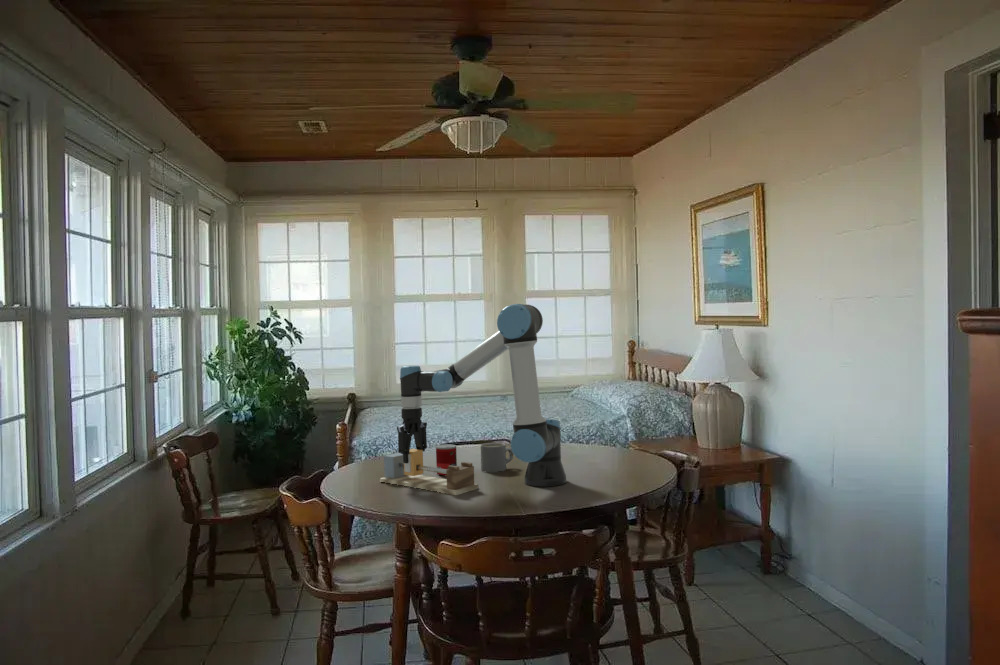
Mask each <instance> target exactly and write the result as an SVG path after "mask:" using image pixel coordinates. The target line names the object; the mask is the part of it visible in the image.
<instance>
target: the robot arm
mask: <svg viewBox="0 0 1000 665" xmlns="http://www.w3.org/2000/svg"><path fill="white" fill-rule="evenodd" d="M543 320H544V319H543V316H542V313H541V311H540V310H539V309H538V308H537V307H536V306H534V305H531V304H521V303H514V304H510V305H507V306H505V307H504V308H502V309H501V311H500V312H499V313H498V316H497V319H496V327H497V329H498V331H496V332H495V333H494V334H492V335H491V336H489V337H488V338H487V339H485V341H483V342H481V343H480V344H479V345H477V346H475V347H474V348H473V349H472V350H471V351H468V352H467V353H466V354H465V355H464V356H462V357H461V358H460V359H458V360H456V361H455V362H454V363H452V364H451V365H449V366H448V367H447V368H444V369H439V370H425V371H424V370H422V368H421V366H420V365H404V366H402V367H400V372H399V373H400V374H399V376H400V377H399V379H400V402H401V403H400V405H401V411H400V412H401V419H402V425H400V426H399V425H398V426H396V430H397V434H398V435H397V441H398V446H397V447H398V453H401V454H403V462H404V464H405V472H411V454H409V450H410V449H411V443H412V437H413V439H414V443H415V447H416V448H415V449H419V450H423V452H425V451H426V449H427V448H428V443H427V442H428V441H427V427H428V426H427V425H428V422H425V421H422V418H423V409H422V405H423V404H422V401H423V400H422V393H423V392H432V393H433V392H434V393H435V392H436V393H442V392H443V393H444V392H449V391H450V390H451V389H455V388H458V387H460V386H462V385H463V383H464V381H465V380H467V379H468V378H470V377H471V376H472V375H474V374H475V373H476V372H478V371H479V370H481V369H483V368H484V367H485V366H486V365H488V364H489V363H491V362H492V361H493V360H495V359H496V358H498V357H499V356H501V355H502V354H504V353H505V352H506V351H509V352H508V354H509V361H510V371H511V378H512V389H513V397H514V407H515V416H516V417H515V418H516V419H515V420H514V421H513V422H512V428H513V435H512V436H511V439H510V448H511V450H512V452H513V456H515V458H517V460H519V461H521V462H523V463H527V467H526V470H525V474H524V484H526V485H529V486H532V487H540V488H542V487H544V488H545V487H556V486H557V487H559V486H562V485H564V484H566V483H567V475H566V472H565V468H564V466H563V463H562V450H561V447H562V446H561V445H562V444H561V442H562V441H561V430H562V429H561V423H560V421H559V419H553V418H550V419H549V418H547V419H546V418H545V417H544V416H542V410H541V403H540V394H539V393H540V392H539V384H538V375H537V366H536V365H537V364H536V357H535V349H534V348H535V345H536V344H537V342H538V335H537V334H538V333H539V332H540V330H542V327H543Z"/></svg>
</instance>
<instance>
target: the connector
mask: <svg viewBox="0 0 1000 665" xmlns="http://www.w3.org/2000/svg"><path fill="white" fill-rule="evenodd" d="M399 463H404V462H403V454H401V453H399V452H395V453H391V454H387V455H383V466H384V467H383V468H384V472H383V473H384V477H387V478H393V479H394V478H398V477H402V476H406V475H404V468H403V467H399Z"/></svg>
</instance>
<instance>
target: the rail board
mask: <svg viewBox="0 0 1000 665" xmlns="http://www.w3.org/2000/svg"><path fill="white" fill-rule="evenodd" d="M446 472H447V476H446V478H440V477H434V476H428V475H423V474H420V475H416V476H410V475H406V476H402V477H398V478H394V479H393V478H387V477H385V476H384V477H380V478H379V483H381V482H385V483H384V484H386V483H391V484H390V485H392V484H397V485H396V486H398V485H404V486H410V487H416V488H421V489H426V490H425V491H427V490H432V491H431V492H433V491H437V492H436V493H439V492H441V494H445V493H446V495H451V496H458V495H462V494H465V493H468V492H471V491H475V490H477V489H478V490H479V484H478V483H475V466H474V465H473V462H468V461H467V462H466V461H462V462H461V464H460V466H458V465H457V466H452V465H450V466H448V470H446ZM404 486H403V487H404ZM410 487H409V488H410ZM416 488H415V489H416ZM421 489H420V490H421Z"/></svg>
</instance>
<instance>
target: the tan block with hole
mask: <svg viewBox="0 0 1000 665" xmlns="http://www.w3.org/2000/svg"><path fill="white" fill-rule="evenodd" d="M409 454H411V472H405V464H404V475H410V476H416V475H423V474H424V471H423V470H417V469H416V465H420V466H424V451H423V450H419V449H417V448H410V450H409Z"/></svg>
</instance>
